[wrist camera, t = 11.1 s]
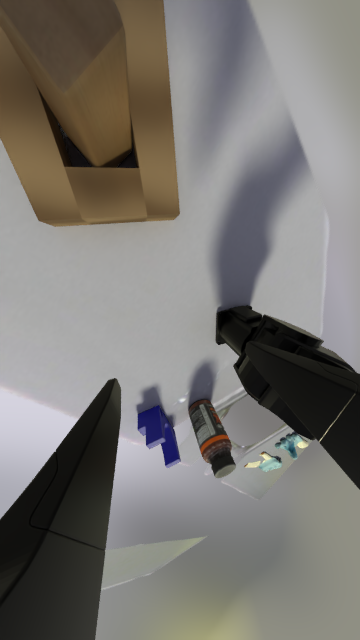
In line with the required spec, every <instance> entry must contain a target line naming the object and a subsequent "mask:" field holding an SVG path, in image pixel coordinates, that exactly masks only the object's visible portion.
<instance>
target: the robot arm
mask: <svg viewBox="0 0 360 640" xmlns="http://www.w3.org/2000/svg"><path fill="white" fill-rule="evenodd" d="M220 314H221V315H220ZM219 315H220V316H219ZM219 341H220V342H219ZM323 342H324V341H323V340H321V339H320V338H318V337H316V336H314V335H312V334H311V333H309V332H307V331H305V330H303V329H301V328H299V327H297V326H294V325H292V324H290V323H287V322H285V321H282V320H279V319H276V318H273V317H270V316H268V315H265V314H264V316H263V317H262V315H261V314H260V313H258V312H255V311H253V310H252V307H251V306H240V307H235V308H231V309H229V310H225V311H220V312H218V313H217V328H216V343H217V344H218V345H220V344H224V343H226V344H227V345H228V346H229V347H230V348H231V349H232V350H233V351H234V352H235V353H236V354H237V355H238V356H239V359H238V360H237V362H236V363H235V364H234V366H233V367H234V369H235V371H236V373H237V375H238V377H239V379H240V381H241V383H242V385H243V387H244V389H245V390H246V392H247V393H248V394H249V395H250V396H251V397H252V398H254V399H255V400H256V401H258V404H260V405H262V406H263V407H265V408H267V409H269V410H270V411H271V412H273V413H274V414H275V415H277V416H278V417H279V418H280V419H282V420H283V421H284V422H285V423H286V424H287V425H288V426H290V427H291V428H292V429H293V430H294V431H295V432H296V433H298V434H300V435H302V436H304V437H306V438H308V439H310V440H315V439H317V440H318V441H319V442H320V444H321V445H322V446H323V448H324V449H325V450H326V451H327V452H328V453H329V455H330V456H331V457H332V458H333V459H334V460H335V461H336V463H337V464H338V465H339V466H340V467H341V468H342V470H343V471H344V472H345V473H346V474H347V475H348V477H349V478H350V479H351V480H352V481H353V482H354V484H355V485H356V486H357V487H358V488H359V489H360V374H358V373H356V372H355V370H354V369H353V368H352V367H351V366H350V365H349V364H347V363H346V362H345V361H344V360H343V359H342V358H341V357H339V356H338V355H337V354H336V353H335V352H333V351H331V350H329V349H326V348H324V347H322V346H320V345H321V344H322V343H323ZM120 420H121V387H120V385H119V383H118V380H117V379H116V378H114V379H110V380H108V381H107V383H106V384H105V385H104V387H103V388H102V389H101V391H100V392H99V393H98V395H97V396H96V397H95V399H94V400H93V401H92V403H91V404H90V405H89V407H88V408H87V409H86V411H85V412H84V413H83V415H82V416H81V417H80V419H79V420H78V421H77V423H76V424H75V425H74V426H73V428H72V429H71V431H70V432H69V433H68V434H67V436H66V437H65V438H64V440H63V441H62V443H61V444H60V445H59V447H58V448H57V449H56V452H54V453H53V454H52V456H51V457H50V458H49V460H48V461H47V462H46V463H45V465H44V466H43V467H42V469H41V470H40V471H39V472H38V474H37V475H36V476H35V478H34V479H33V480H32V482H31V483H30V484H29V485H28V486H27V488H26V489H25V490H24V491H23V493H22V494H21V495H20V496H19V498H18V499H17V500H16V501H15V502H14V504H13V505H12V506H11V507H10V508H9V510H8V511H7V512H6V513H5V515H4V516H3V517H2V518H1V519H0V640H95V635H96V627H97V618H98V609H99V601H100V592H101V584H102V575H103V567H104V558H105V548H106V540H107V531H108V523H109V515H110V506H111V498H112V489H113V480H114V472H115V463H116V454H117V446H118V438H119V429H120Z"/></svg>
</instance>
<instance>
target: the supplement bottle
mask: <svg viewBox="0 0 360 640" xmlns="http://www.w3.org/2000/svg"><path fill="white" fill-rule="evenodd" d="M189 416H190V419H191V422H192V426H193V429H194V432H195V435H196V438H197V442H198V445H199V448H200V451H201V454H202V457H203V459H204V460H205V461H206V462H207V463H210V464H212V470H213V473H214V476H215V477H216V478H222V477H224V476H226V475H228V474H230V473H231V472H232V471H233V470H234V469H235V468H236V465H235V463H234V460H233V457H232V456H231V449H232V445H231V442H230V440H229V438H228V435H227V434H226V432H225V430H224V427H223V425H222V423H221V421H220V419H219V417H218V415H217V413H216V411H215V409H214V407H213V405H212V404H211V402H210V401H208V400H200V401H197V402H195V403H194V404H193V405H192V406H191V407H190V409H189Z"/></svg>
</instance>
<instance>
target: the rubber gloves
mask: <svg viewBox="0 0 360 640" xmlns="http://www.w3.org/2000/svg"><path fill="white" fill-rule="evenodd" d="M295 440H296V441H295ZM294 441H295V442H294ZM297 445H298V446H299V448H305V447H307V446H308V442H306V441H305V440H303V439H302V438H301V437H300V436H299V435H297V434H293V435H288V436H286V439H284V440H282V441H281V443H279V444H276V445H275V447H276V448H277V449H279V448H283V449H285V450H287V451H288V453H289V455H290V456H291V457H292V458H293V459H297V453H296V450H295V446H297ZM260 455H261V456H263V457H264V458H265V460H264V461H263V463H262V464H261V465H260V466H259V467H258V468H260V469H262V470H263V471H265V472H267V471H268V470H273V469H274V468H275V469H277V468H280V467H282V461H281V460H279V462H278V461H277V459H276V458H274V457H271V456H269V455H268V454H267V453H265V452H262V453H261V454H260ZM259 464H260V461H258V462H253V463H248V464H247V465H245V466H244V467H250V468H251V467H257V466H258V465H259Z"/></svg>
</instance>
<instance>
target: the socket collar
mask: <svg viewBox="0 0 360 640" xmlns="http://www.w3.org/2000/svg"><path fill="white" fill-rule="evenodd" d="M114 2H115V4H116V6H117V8H118V10H119V13H120V16H121V19H122V22H123V26H124V30H125V35H126V52H127V68H128V85H129V101H130V118H131V135H132V142H133V148H134V154H135V160H136V166H137V168H99V167H72V165H71V162H70V159H69V156H68V152H67V149H66V146H65V143H64V140H63V137H62V134H61V131H60V128H59V125H58V122H57V119H56V117H55V116H54V114H53V112H52V111H51V109H50V107H49V106H48V104H47V102H46V101H45V99H44V97H43V96H42V94H41V92H40V90H39V89H38V87H37V85H36V84H35V82H34V80H33V79H32V77H31V75H30V74H29V72H28V70H27V69H26V67H25V65H24V64H23V62H22V60H21V59H20V57H19V55H18V54H17V52H16V50H15V49H14V47H13V45H12V44H11V42H10V40H9V39H8V37H7V35H6V34H5V32H4V30H3V29H2V27H1V25H0V138H1V140H2V143H3V145H4V147H5V149H6V151H7V153H8V156H9V158H10V160H11V162H12V164H13V166H14V169H15V171H16V173H17V175H18V177H19V179H20V181H21V184H22V186H23V188H24V190H25V192H26V194H27V197H28V199H29V201H30V203H31V205H32V207H33V210H34V212H35V214H36V216H37V218H38V220H39V221H41V222H44V223H46V224H49V225H52V226H55V227H56V226H74V225H91V224H109V223H126V222H144V221H161V220H174V219H175V218H176V217H177V216H178V215H179V214H180V211H179V198H178V185H177V172H176V159H175V146H174V133H173V120H172V107H171V94H170V81H169V68H168V55H167V42H166V29H165V16H164V3H163V0H114Z"/></svg>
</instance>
